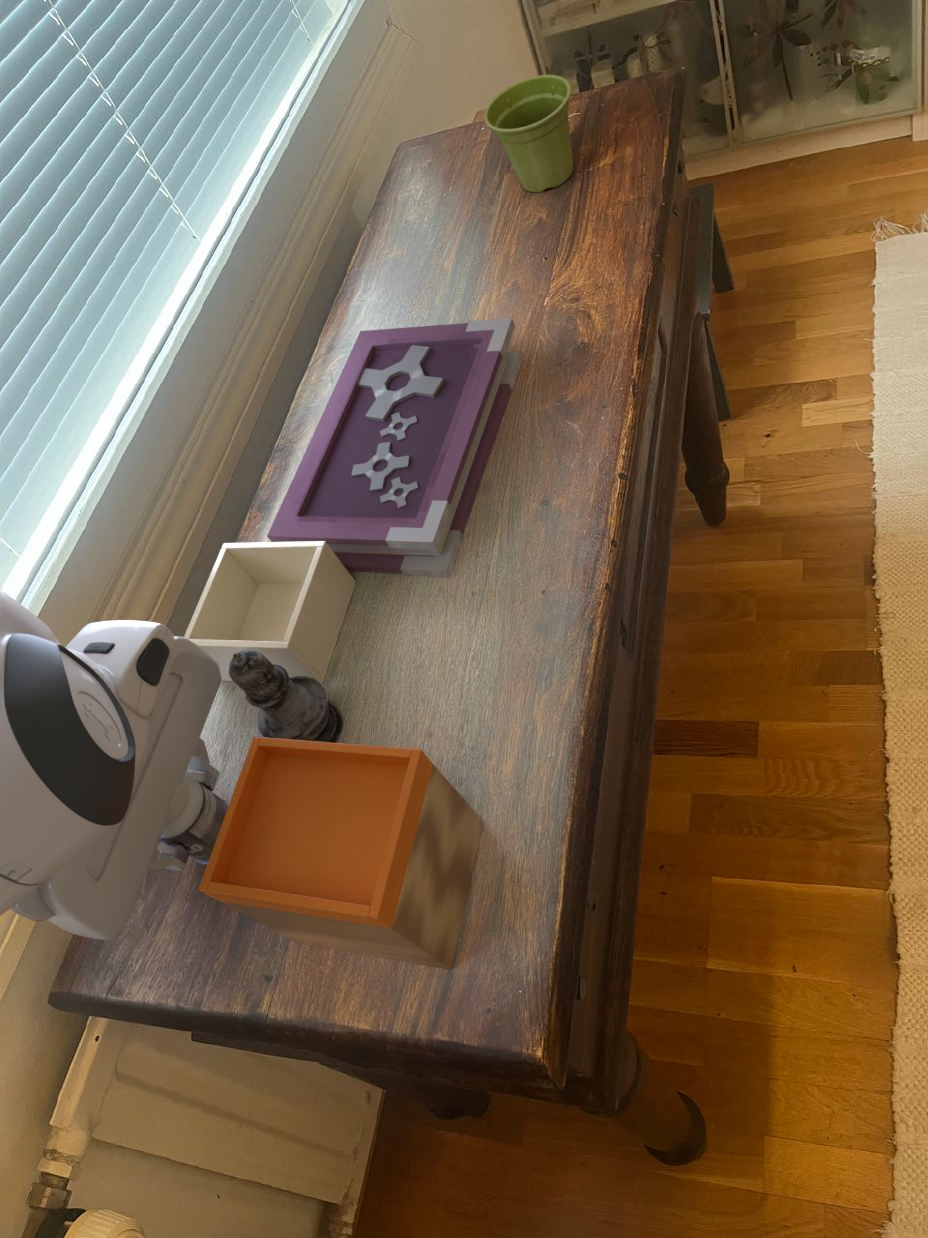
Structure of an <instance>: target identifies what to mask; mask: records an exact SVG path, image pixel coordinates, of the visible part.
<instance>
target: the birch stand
mask: <svg viewBox="0 0 928 1238" xmlns="http://www.w3.org/2000/svg"><path fill="white" fill-rule="evenodd" d="M467 802H468V801H466V800H465V799H464V798H463V796H462V795H461V794H460V793H459V792H458V791H457V789H456V788H455V787H454V786H453V785H452V783H450V781H449V780H448V779H447V777H445V776H444V774H443V773H442V772H441V771H440V770H439V769H438V767H437V766H436V765H435V764H434V763H433V767H432V771H431V775H430V779H429V783H428V787H427V791H426V795H425V799H424V803H423V807H422V810H421V814H420V818H419V822H418V826H417V830H416V834H415V838H414V842H413V846H412V850H411V854H410V858H409V862H408V866H407V870H406V874H405V878H404V882H403V886H402V890H401V894H400V898H399V902H398V906H397V910H396V914H395V917H394V921H393V925H392V928H385V927H379V926H373V925H367V924H361V923H354V922H348V921H342V920H336V919H330V918H324V917H317V916H311V915H305V914H299V913H293V912H287V911H281V910H274V909H268V908H262V907H256V906H250V905H244V904H237V903H231V902H225V901H219V900H217V901H218V902H220V903H221V904H224V905H225V906H227V907H229V908H231V909H233V910H234V911H236V912H238V913H240V914H242V915H244V916H246V917H247V918H248V919H251V920H253V921H254V922H257V923H258V924H260V925H262V926H264V927H265V928H268V929H269V930H272V931H273V932H275V933H277V934H279V935H280V936H282V937H284V938H286V939H287V940H290V941H291V942H293V943H297V944H304V945H310V946H315V947H320V948H325V949H331V950H338V951H342V952H343V951H344V952H348V953H354V954H359V955H365V956H370V957H371V956H372V957H377V958H383V959H388V960H394V961H400V962H405V963H411V964H416V965H421V966H427V967H434V968H438V969H445V970H450V971H451V970H452V969H453V964H454V961H455V955H456V951H457V946H458V941H459V937H460V933H461V928H462V923H463V919H464V914H465V909H466V905H467V901H468V896H469V891H470V887H471V881H472V876H473V872H474V868H475V863H476V860H477V854H478V850H479V849H478V848H479V845H480V841H481V836H482V831H483V827H484V821H483V820H482V818H481V817H480V816H479V815H478V814H477V813H476V811H474V809H473V808H472V807H471V805H469V804H468V803H467Z"/></svg>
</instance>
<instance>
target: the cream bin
mask: <svg viewBox="0 0 928 1238" xmlns="http://www.w3.org/2000/svg"><path fill="white" fill-rule="evenodd" d="M356 584H357V581H356V580H355V579H354V577H353V576H352V574H351V573H350V571H347V569H346V568H345V567H344V565H343V564H342V563H341V561H340V560H339V559H338V557H337V556H336V555H335V553H334V552H333V551H332V549H331V548H330V547H329V545H328V544H327V542H326V541H299V542H271V541H260V542H259V541H258V542H257V541H255V542H223V543H222V546H221V548H220V549H219V553H218V555H217V557H216V560H215V562H214V564H213V567H212V570H211V572H210V574H209V577H208V579H207V581H206V583H205V586H204V588H203V591H202V593H201V595H200V598H199V601H198V602H197V604H196V607H195V609H194V612H193V614H192V617H191V619H190V620H189V624H188V626H187V628H186V631H185V634H184V636H183V637H184V638H187V639H189V640H190V641H192V642H194V643H195V644H197V645H198V646H199V647H201V648H202V649H203V650H204V651H206V652H207V653H208V654H209V655H210V656H211V657H213V658H214V659H215V660H216V661H217V663H218V664H219V668H220V672H221V679H222V681H221V682H233V680H232V679H231V677H230V675H229V665H230V662H231V660H232V658H233V654H235V653H239V652H241V651H243V650H247V649H254V650H257V651H259V652H261V653H262V654H263V655H264V656H265V657H266V658H267V659H268V660H269V661H270V662H271V663H272V664H273V665H279V666H282V667H283V668H284V669H285V670H286V671H287V672H288V675H289V678H291V677H295V676H308V677H311V678H314V679H315V680H317V681H318V682H320V684H321V685H322V686H323V684H324V682H325V679H326V676H327V673H328V670H329V667H330V663H331V660H332V657H333V654H334V651H335V648H336V645H337V642H338V639H339V636H340V633H341V629H342V626H343V625H344V621H345V618H346V615H347V612H348V608H349V606H350V602H351V599H352V596H353V593H354V590H355V587H356Z"/></svg>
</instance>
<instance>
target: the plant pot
mask: <svg viewBox="0 0 928 1238" xmlns="http://www.w3.org/2000/svg"><path fill="white" fill-rule="evenodd" d="M571 96H572V86H571V84H570V82H569V81H568V80H567V79H566V78H565V77H562V76H560V75H556V74H542V75H535V76H531V77H528V78H524V79H522V80H519V81H518V82H515V83H513V84H511V85H510V86H508V87H506V88H505V89H503V90H502V91H501V92H499V93H498V94H497V95H496V96H494V97H493V98H492V100H491V101H490V102H489V103H488V105H487V106H486V109H485V111H484V114H483V115H484V116H483V117H484V122H485V124H486V126H487V127H488V128H489V129H490V130H492V131H493V133H494V135H495V136H496V138H497V139H499V142H500V144H501V146H502V148H503V149H504V152H505V154H506V156H507V158H508V160H509V162H510V163H509V164H511V166H512V169H513V171H514V173H515V175H516V177H517V180H518V181H519V184H520V186H521V187H522V189H524V190H525V191H527V192H531V193H542V192H544V191H545V190H546V189H550V188H558V187H559V186H561V185H562V184H564V183H565V182H566V181H568V179H569V178H570V177H571V175H572V173H573V170H574V160H573V159H574V157H573V149H572V142H571V140H572V139H571V132H570V121H569V111H570V110H569V109H570V99H571Z"/></svg>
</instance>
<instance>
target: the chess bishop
mask: <svg viewBox="0 0 928 1238" xmlns="http://www.w3.org/2000/svg"><path fill="white" fill-rule="evenodd" d="M229 675H230V677H231V679H232V680H233V681H232V682H233V683H234V684H235V685H236V686H237V687H238V688H240V690H242V691H243V692H244V697H245V700H246V701H247V703H248V704H250V706H251V707H254V708H256V709H258V711H257V715H256V717H257V718H256V721H257V722H256V723H257V729H258V731H259V733H260V734H261V737H264V738H277V739H290V740H303V741H317V742H330V743H338V740H339V738H340V736H341V733H342V730H343V725H344V724H343V723H344V721H343V720H344V719H343V718H344V717H343V715H342V712H341V710H340V709H339V707H338V706H337V705H336V704H335V703H333V702H332V701H330V700H328V697H327V693H326V689H325V687H324V686H323V685H321V684H320V682H318V681H317V680H315V679H314V678H311V677H308V676H295V677H291V678H289V675H288V672H287V671H286V670H285V669H284V668H283V667H282V666H279V665H273V664H272V663H271V662H270V661H269V660H268V659H267V658H266V657H265V656H264V655H263V654H262V653H261V652H259V651H257V650H254V649H247V650H243V651H241V652H239V653H235V654H233V658H232V660H231V662H230V665H229Z"/></svg>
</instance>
